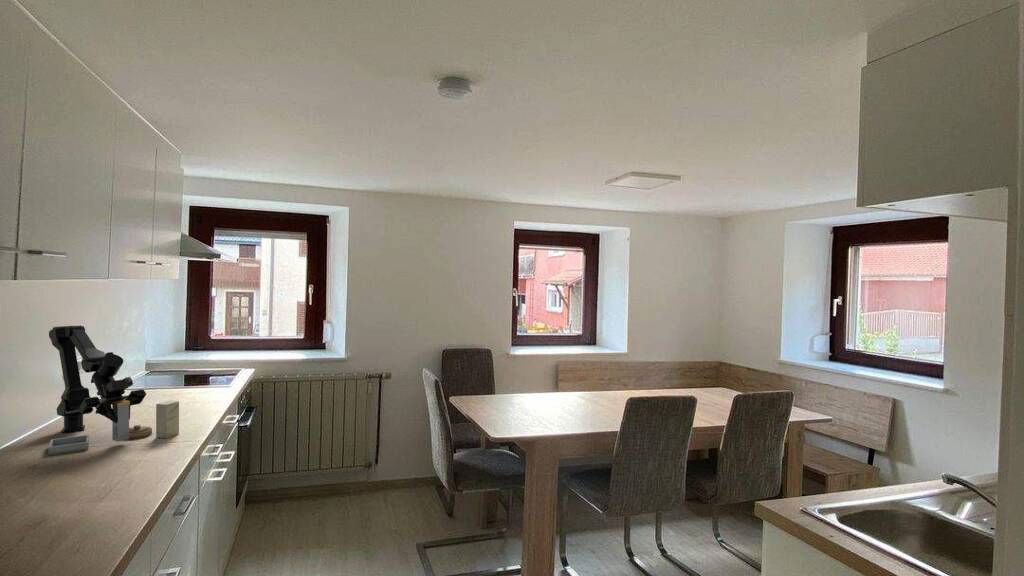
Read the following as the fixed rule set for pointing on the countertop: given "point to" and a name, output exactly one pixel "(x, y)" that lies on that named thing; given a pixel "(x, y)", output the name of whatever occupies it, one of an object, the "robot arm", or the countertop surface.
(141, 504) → the countertop surface
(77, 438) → the tray
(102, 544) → the countertop surface
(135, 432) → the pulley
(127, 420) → the pin
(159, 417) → the skincare box
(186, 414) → the countertop surface
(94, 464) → the countertop surface
